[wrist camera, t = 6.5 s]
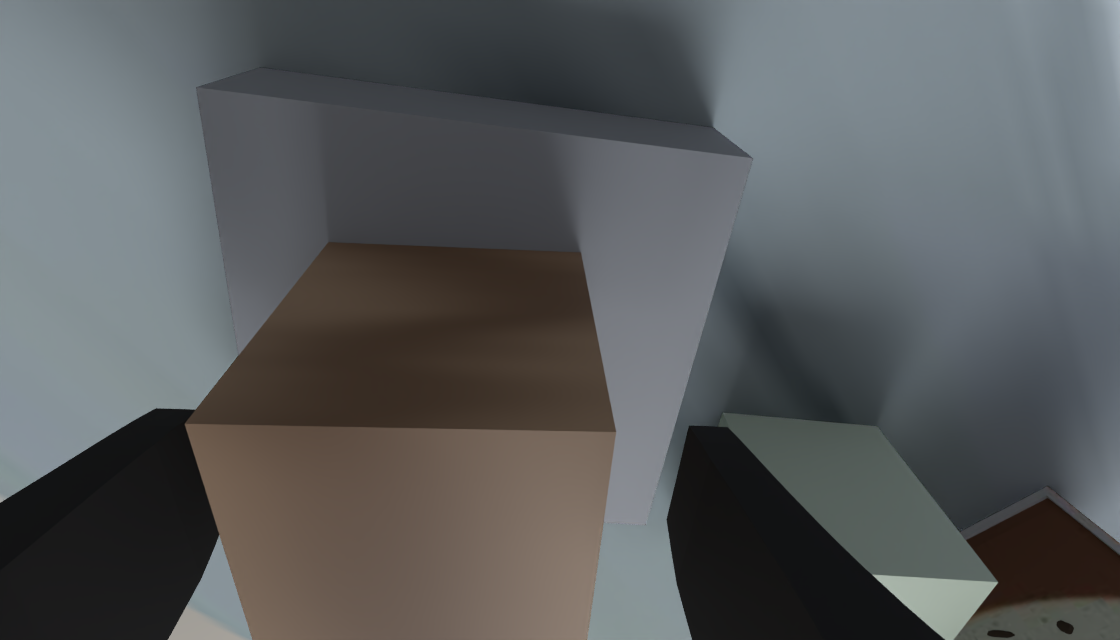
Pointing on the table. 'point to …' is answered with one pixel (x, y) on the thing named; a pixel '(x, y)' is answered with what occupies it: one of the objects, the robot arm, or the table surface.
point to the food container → (1045, 574)
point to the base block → (486, 215)
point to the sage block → (873, 512)
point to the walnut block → (415, 449)
